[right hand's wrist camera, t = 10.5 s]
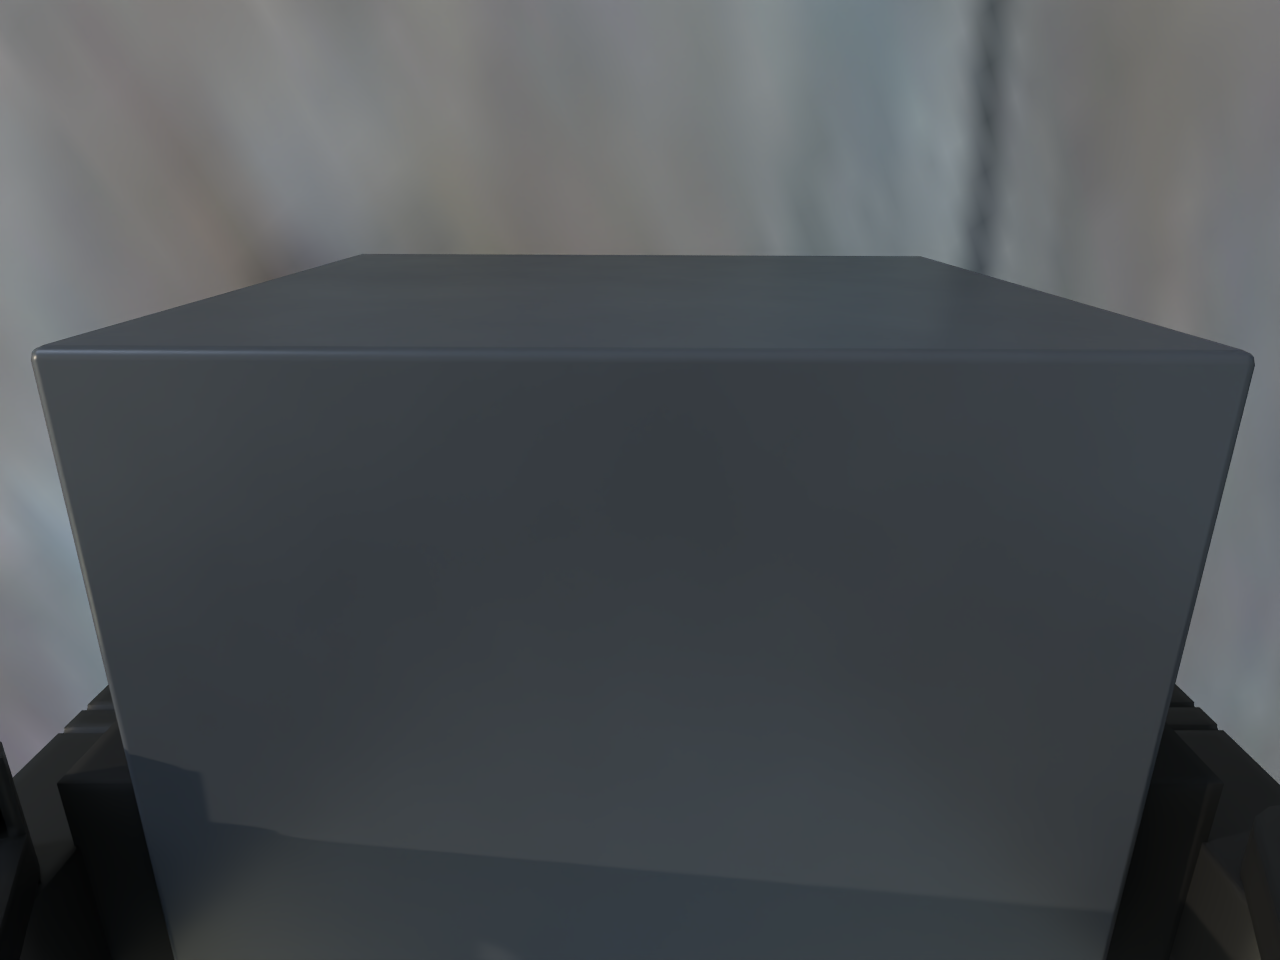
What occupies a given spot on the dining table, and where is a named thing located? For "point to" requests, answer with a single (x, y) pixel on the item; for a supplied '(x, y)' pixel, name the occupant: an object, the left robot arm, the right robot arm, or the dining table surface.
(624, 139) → the dining table surface
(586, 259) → the wide beam
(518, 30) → the dining table surface
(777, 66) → the dining table surface
